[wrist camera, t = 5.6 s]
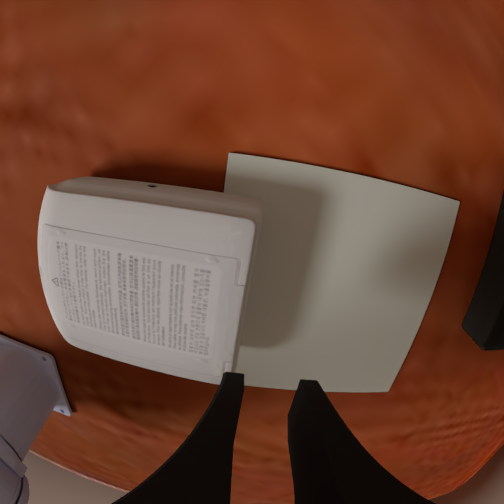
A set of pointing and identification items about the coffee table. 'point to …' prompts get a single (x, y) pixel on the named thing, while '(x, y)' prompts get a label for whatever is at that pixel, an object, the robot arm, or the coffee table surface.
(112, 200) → the photo printer
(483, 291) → the coral
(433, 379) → the coffee table surface
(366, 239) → the mat
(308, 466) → the robot arm
